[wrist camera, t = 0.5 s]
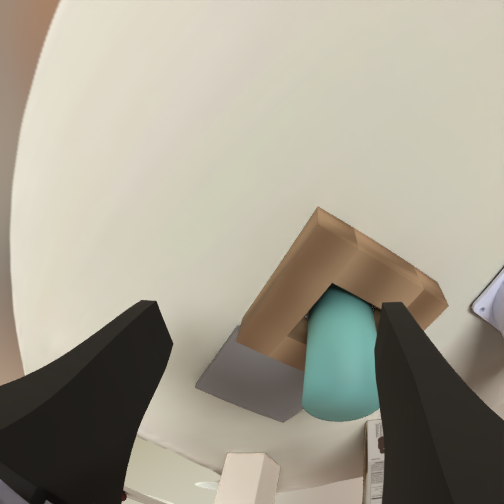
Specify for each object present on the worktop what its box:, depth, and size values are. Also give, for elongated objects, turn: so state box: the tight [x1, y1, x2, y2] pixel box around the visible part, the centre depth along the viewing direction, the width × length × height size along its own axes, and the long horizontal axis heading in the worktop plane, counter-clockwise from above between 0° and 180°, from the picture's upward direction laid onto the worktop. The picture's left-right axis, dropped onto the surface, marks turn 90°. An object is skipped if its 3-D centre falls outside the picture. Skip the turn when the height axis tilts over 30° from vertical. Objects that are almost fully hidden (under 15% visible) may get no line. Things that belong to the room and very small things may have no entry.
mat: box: [195, 325, 305, 422], centre depth 26 cm, size 10×10×1 cm
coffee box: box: [362, 419, 384, 504], centre depth 22 cm, size 9×6×16 cm
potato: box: [122, 492, 127, 501], centre depth 89 cm, size 7×10×6 cm
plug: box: [302, 283, 380, 422], centre depth 17 cm, size 4×4×8 cm
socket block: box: [236, 207, 449, 372], centre depth 19 cm, size 10×10×2 cm
